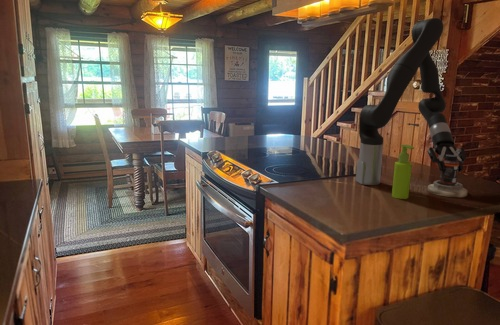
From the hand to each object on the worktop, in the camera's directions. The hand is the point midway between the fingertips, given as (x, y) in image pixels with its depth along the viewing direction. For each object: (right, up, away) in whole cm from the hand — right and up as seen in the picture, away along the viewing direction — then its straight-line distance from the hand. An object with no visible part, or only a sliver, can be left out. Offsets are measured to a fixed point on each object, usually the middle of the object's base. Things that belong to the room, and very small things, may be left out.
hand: (452, 170), depth 144 cm
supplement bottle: (0, -5, +3) cm, 6 cm away
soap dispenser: (-21, -10, -4) cm, 24 cm away
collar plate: (0, -9, +3) cm, 9 cm away
